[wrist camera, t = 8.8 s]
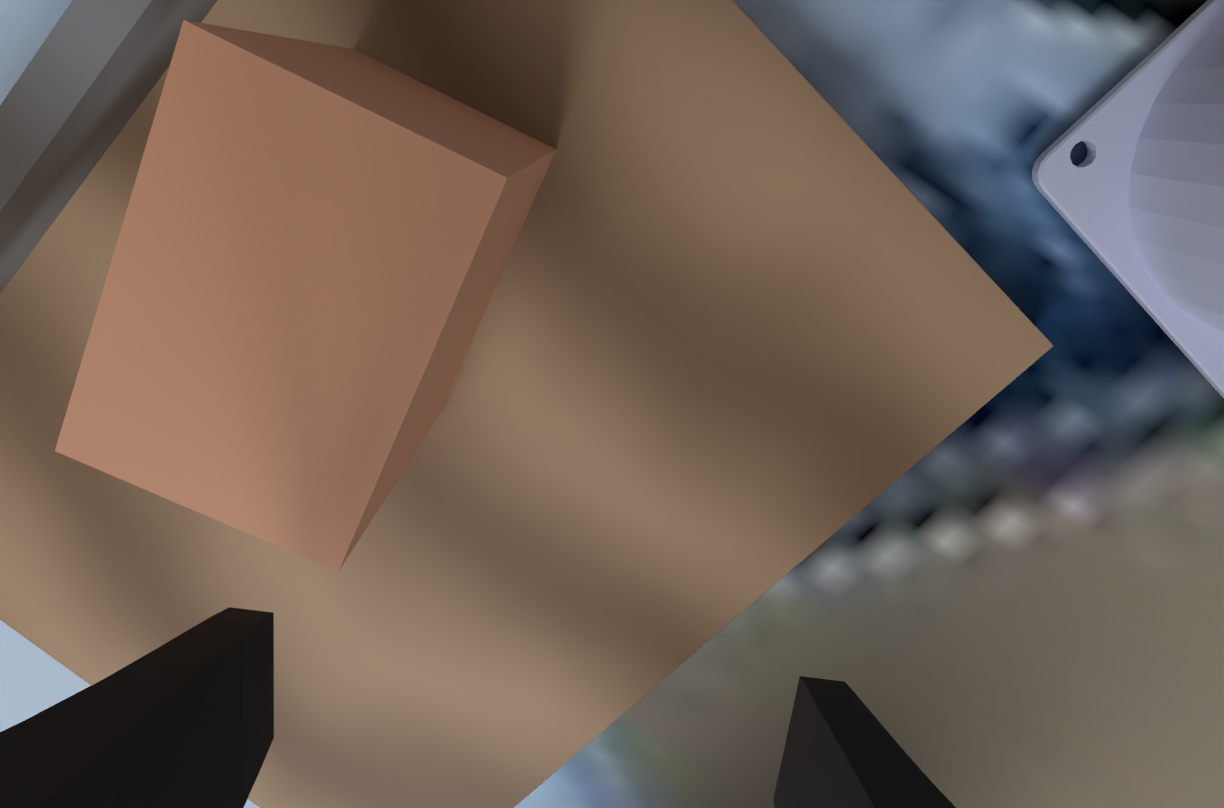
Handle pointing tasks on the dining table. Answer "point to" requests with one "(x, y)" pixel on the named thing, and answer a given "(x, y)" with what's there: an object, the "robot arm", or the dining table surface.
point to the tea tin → (294, 285)
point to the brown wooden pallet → (509, 387)
